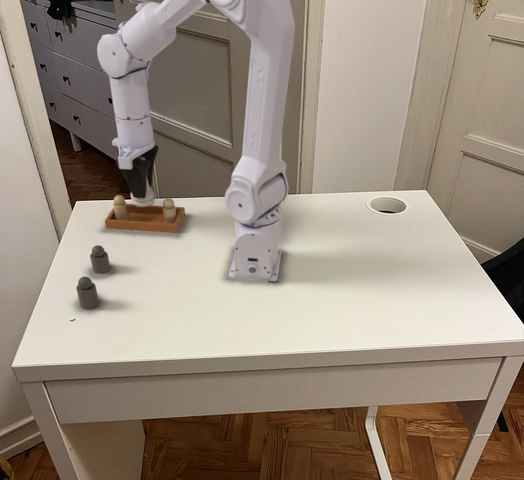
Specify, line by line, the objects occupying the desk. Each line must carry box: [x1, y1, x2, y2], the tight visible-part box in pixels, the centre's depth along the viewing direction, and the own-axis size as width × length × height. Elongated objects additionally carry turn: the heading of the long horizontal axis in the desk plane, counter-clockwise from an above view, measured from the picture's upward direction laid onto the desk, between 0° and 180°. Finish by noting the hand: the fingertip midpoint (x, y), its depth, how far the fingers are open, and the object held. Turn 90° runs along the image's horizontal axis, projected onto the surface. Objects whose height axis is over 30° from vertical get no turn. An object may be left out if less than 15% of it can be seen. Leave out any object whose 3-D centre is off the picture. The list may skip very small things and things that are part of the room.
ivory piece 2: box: [162, 197, 177, 224], centre depth 104 cm, size 2×2×5 cm
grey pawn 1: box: [75, 276, 100, 310], centre depth 85 cm, size 3×3×5 cm
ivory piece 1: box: [112, 194, 129, 221], centre depth 105 cm, size 2×2×5 cm
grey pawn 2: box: [89, 244, 111, 275], centre depth 92 cm, size 3×3×5 cm
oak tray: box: [104, 203, 186, 234], centre depth 105 cm, size 7×13×2 cm, turn 84°
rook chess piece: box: [130, 157, 156, 207], centre depth 101 cm, size 4×4×8 cm
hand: (142, 192), depth 102 cm, fingers closed on rook chess piece, 3 cm apart
